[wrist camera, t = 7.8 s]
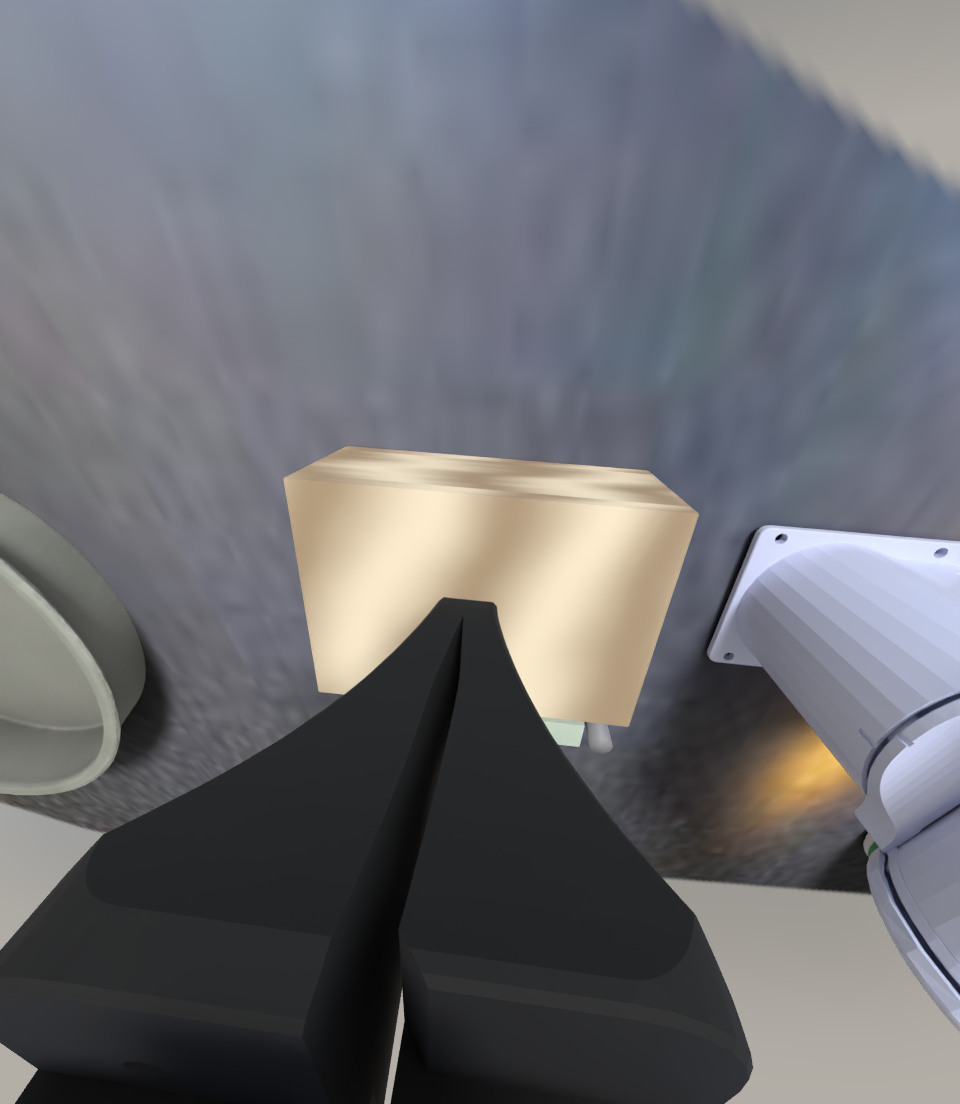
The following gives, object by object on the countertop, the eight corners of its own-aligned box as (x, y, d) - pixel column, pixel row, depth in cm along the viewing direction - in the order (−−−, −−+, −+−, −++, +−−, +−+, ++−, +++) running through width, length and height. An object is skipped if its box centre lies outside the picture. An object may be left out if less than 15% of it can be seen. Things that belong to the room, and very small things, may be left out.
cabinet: (647, 470, 18) (699, 514, 13) (603, 644, 22) (628, 726, 17) (346, 446, 18) (283, 477, 13) (362, 619, 23) (318, 691, 18)
